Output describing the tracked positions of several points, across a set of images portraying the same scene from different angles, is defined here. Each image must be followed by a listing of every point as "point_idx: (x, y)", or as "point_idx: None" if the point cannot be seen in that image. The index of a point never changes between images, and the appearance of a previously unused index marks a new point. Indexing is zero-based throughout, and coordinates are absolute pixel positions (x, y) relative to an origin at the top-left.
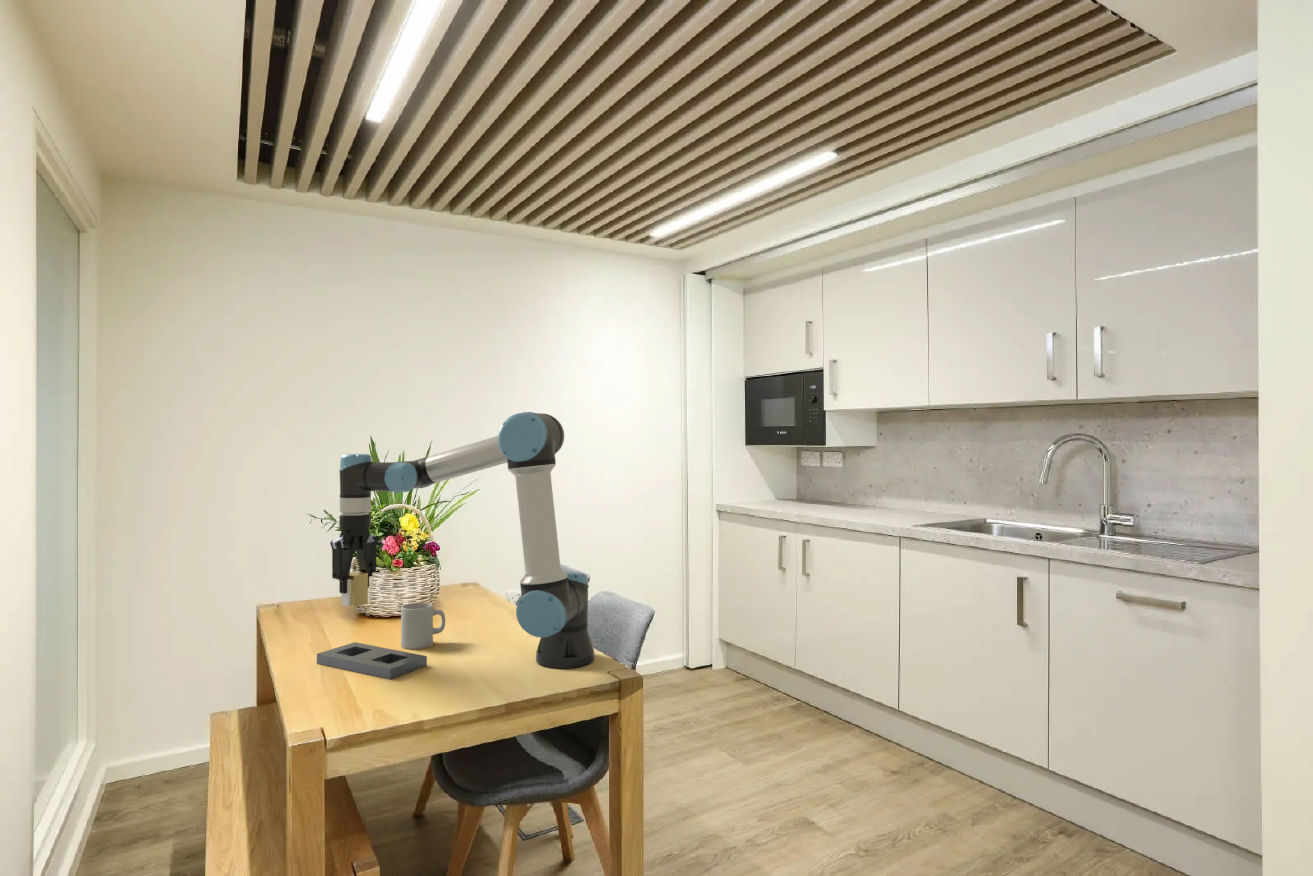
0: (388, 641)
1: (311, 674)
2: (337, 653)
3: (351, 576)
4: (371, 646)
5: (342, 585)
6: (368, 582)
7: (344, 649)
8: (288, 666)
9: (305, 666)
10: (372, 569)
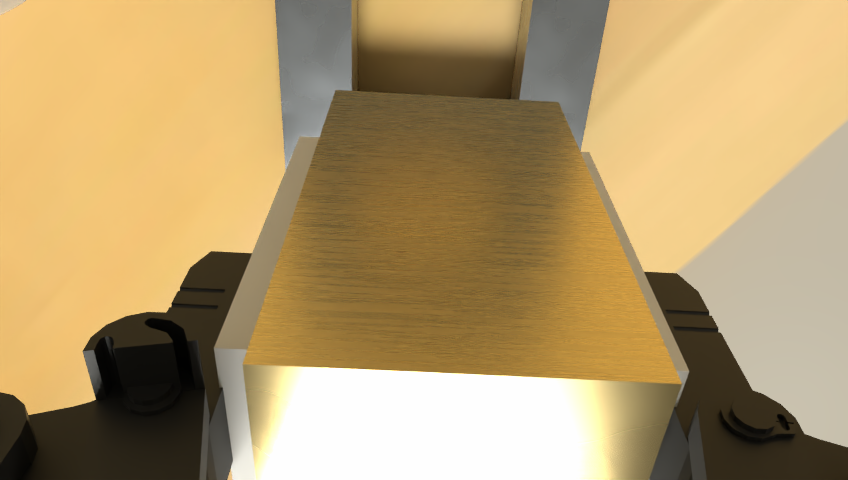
0: (39, 140)
1: (739, 46)
2: (521, 97)
3: (658, 424)
4: (296, 15)
5: (731, 370)
6: (185, 307)
7: None
8: (646, 256)
9: (621, 187)
10: (4, 460)
